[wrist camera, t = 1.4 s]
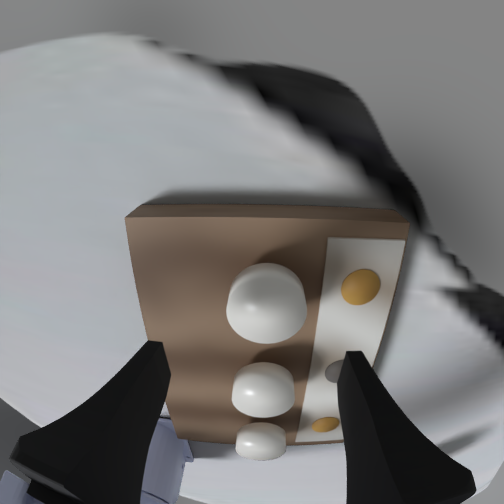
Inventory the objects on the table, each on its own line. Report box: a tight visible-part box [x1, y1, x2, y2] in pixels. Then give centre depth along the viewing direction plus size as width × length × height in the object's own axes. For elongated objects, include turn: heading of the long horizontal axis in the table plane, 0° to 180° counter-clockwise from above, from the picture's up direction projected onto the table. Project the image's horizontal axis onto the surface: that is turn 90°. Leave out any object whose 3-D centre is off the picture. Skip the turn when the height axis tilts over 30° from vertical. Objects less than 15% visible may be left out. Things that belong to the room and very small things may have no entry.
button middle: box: [232, 362, 295, 418], centre depth 19 cm, size 4×4×2 cm
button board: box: [125, 204, 410, 445], centre depth 22 cm, size 22×16×3 cm
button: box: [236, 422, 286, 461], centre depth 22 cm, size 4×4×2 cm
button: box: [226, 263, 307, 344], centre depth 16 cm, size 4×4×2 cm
